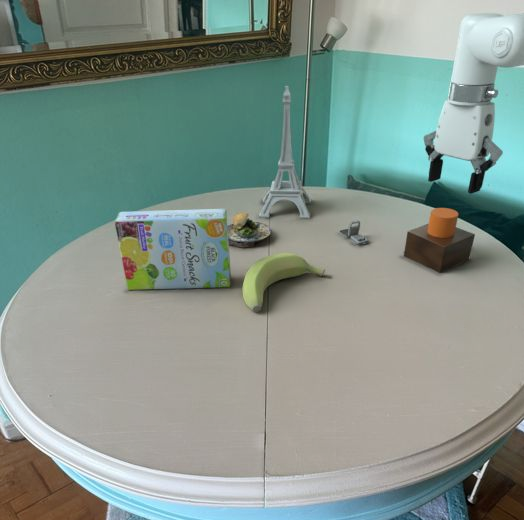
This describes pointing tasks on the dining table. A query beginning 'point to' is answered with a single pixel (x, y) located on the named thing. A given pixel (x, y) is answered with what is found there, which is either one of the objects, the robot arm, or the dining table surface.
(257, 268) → the banana
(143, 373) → the dining table surface
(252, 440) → the dining table surface
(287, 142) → the eiffel tower
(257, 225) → the burger
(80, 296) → the dining table surface
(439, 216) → the orange puck
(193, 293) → the dining table surface
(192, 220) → the snack box
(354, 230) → the strap clip
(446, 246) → the walnut block
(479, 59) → the robot arm
